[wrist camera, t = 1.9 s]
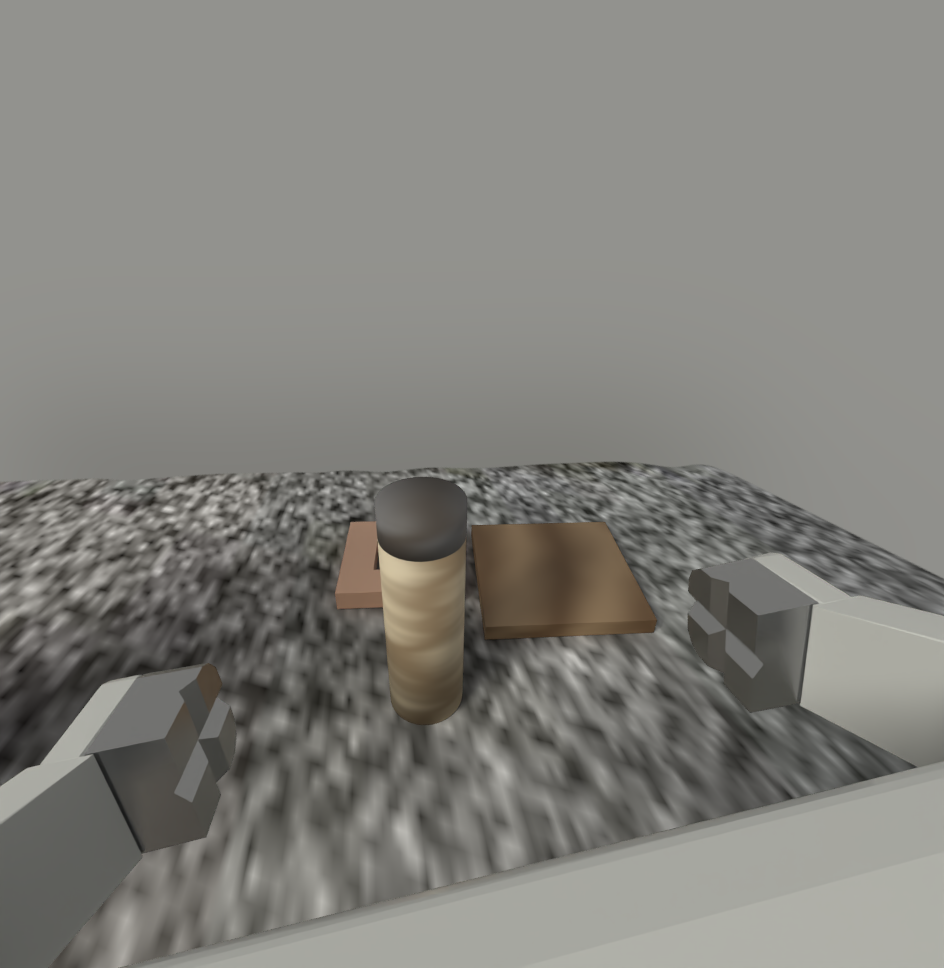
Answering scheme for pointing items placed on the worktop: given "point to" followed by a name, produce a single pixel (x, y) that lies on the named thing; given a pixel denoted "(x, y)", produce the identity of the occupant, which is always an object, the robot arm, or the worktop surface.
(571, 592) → the walnut board
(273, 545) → the worktop surface
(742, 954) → the robot arm
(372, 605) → the frame
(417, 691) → the beech tool handle
